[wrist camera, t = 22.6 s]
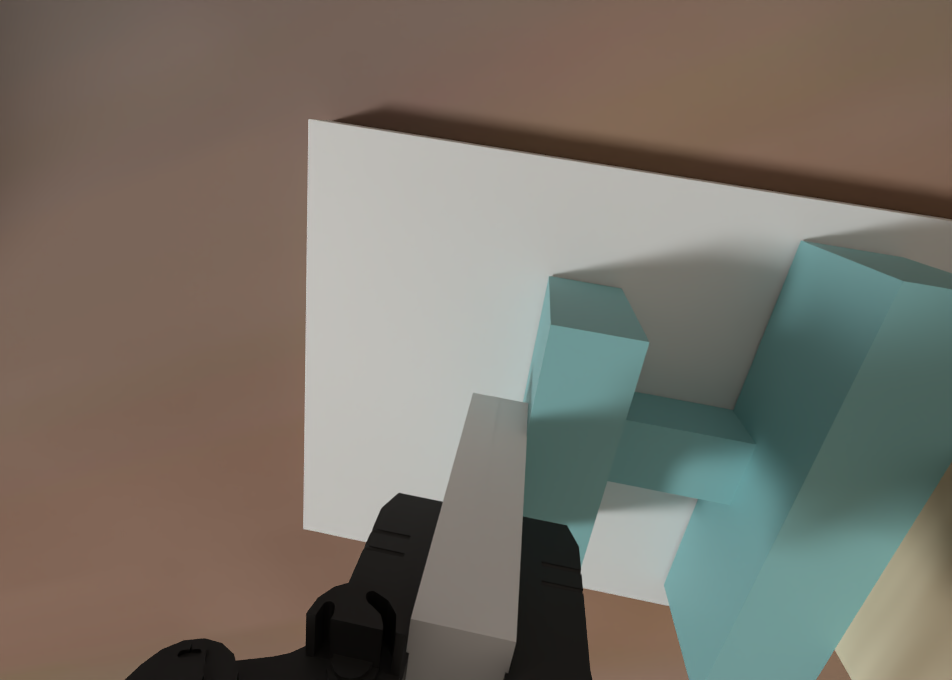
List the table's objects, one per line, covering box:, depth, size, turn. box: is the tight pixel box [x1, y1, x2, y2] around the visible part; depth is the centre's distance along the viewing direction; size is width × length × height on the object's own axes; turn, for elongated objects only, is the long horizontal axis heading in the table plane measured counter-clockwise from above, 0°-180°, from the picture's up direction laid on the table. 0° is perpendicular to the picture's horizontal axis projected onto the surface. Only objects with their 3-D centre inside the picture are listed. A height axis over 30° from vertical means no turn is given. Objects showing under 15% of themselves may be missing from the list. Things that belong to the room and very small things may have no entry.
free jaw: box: [523, 241, 952, 680], centre depth 13 cm, size 8×12×4 cm
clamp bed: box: [303, 119, 952, 606], centre depth 14 cm, size 25×14×6 cm, turn 82°
